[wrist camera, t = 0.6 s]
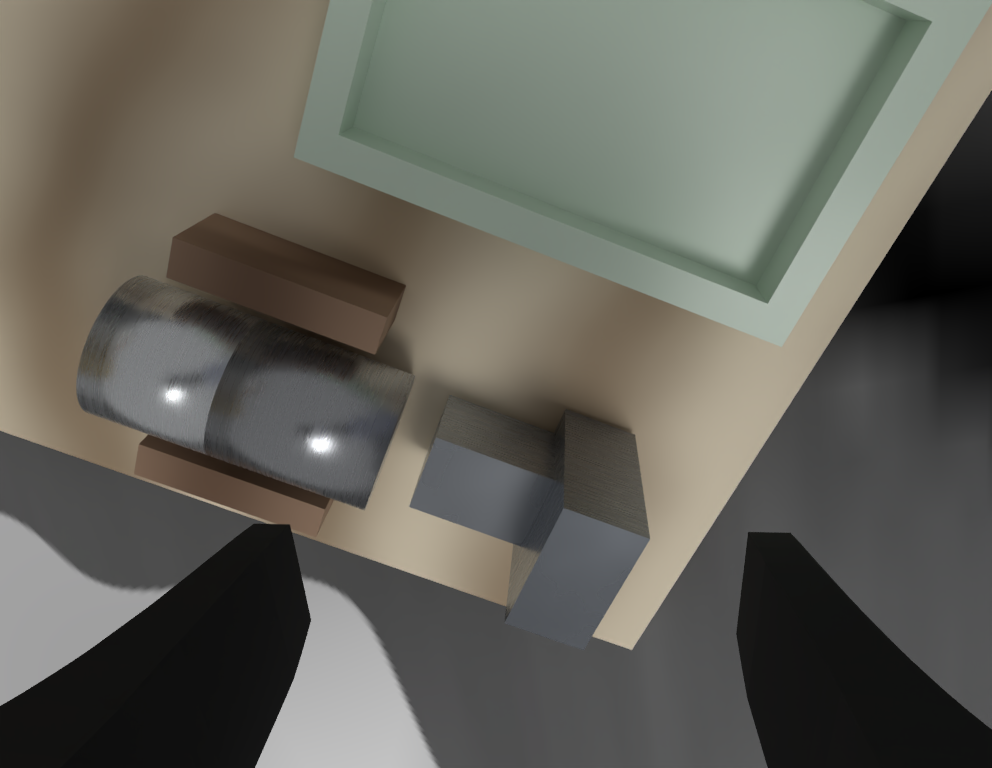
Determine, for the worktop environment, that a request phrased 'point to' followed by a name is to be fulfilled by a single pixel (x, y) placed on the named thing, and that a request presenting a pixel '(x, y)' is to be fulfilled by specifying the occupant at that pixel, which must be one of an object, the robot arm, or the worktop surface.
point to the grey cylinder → (242, 389)
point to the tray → (639, 129)
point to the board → (384, 251)
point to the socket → (283, 295)
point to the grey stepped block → (542, 509)
